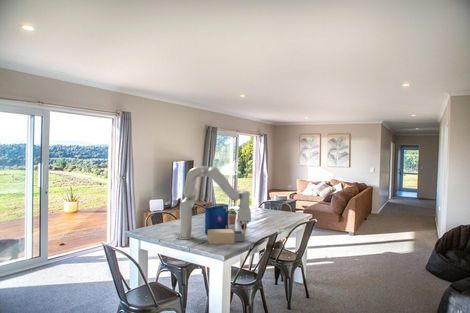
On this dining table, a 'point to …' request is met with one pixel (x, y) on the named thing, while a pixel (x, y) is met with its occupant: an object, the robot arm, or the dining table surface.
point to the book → (216, 217)
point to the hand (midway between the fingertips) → (243, 229)
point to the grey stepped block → (240, 235)
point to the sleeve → (220, 236)
